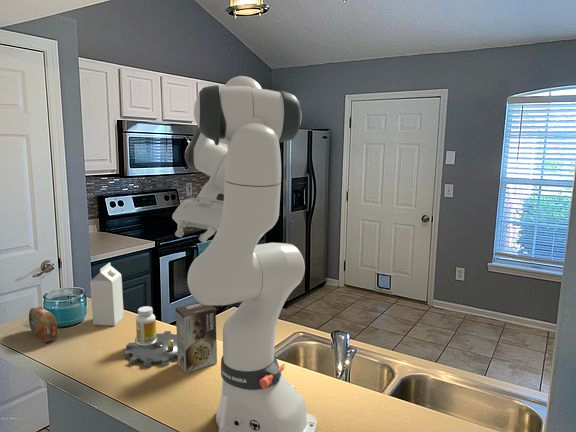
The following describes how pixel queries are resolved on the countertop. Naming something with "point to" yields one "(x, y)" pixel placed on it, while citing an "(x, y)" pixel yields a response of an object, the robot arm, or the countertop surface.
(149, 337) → the supplement bottle
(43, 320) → the tin
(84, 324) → the countertop surface
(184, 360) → the coffee box
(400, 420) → the countertop surface
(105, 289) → the milk carton
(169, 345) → the sprocket
